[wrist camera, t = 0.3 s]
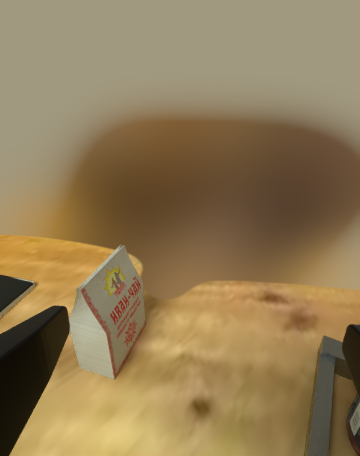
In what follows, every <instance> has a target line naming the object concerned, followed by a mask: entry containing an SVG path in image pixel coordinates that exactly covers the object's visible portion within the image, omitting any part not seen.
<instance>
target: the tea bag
mask: <svg viewBox="0 0 360 456" xmlns="http://www.w3.org/2000/svg"><path fill="white" fill-rule="evenodd" d="M69 323H70V333H71V337H72V340H73V344H74V348H75V352H76V355H77V359H78V363H79V367H80V368H82V369H85V370H88V371H91V372H94V373H97V374H99V375H102V376H105V377H108V378H111V379H114V380H115V378H116V376H117V374H118V372H119V371H120V369H121V367H122V365H123V364H124V362H125V360H126V358H127V356H128V355H129V353H130V351H131V349H132V348H133V346H134V344H135V342H136V340H137V339H138V337H139V335H140V333H141V332H142V330H143V328H144V326H145V324H146V321H145V308H144V296H143V283H142V280H141V279H140V277H139V275H138V273H137V271H136V270H135V268H134V266H133V264H132V262H131V260H130V258H129V256H128V254H127V252H126V249H125V246H122V247H121V245H120V246H119V247H118V248H117V249H116V250H115V251H114V252H113V253H112V254H111V255H110V256H109V257H108V258H107V259H106V260H105V261H104V262H103V263H102V264H101V265H100V266H99V267H98V268H97V269H96V270H95V271H94V272H93V273H92V274H91V275H90V276H89V277H88V278H87V279H86V280H85V281H84V282H83V283H82V284H81V285H80V286H79V287H78V288H77V296H76V300H75V304H74V307H73V310H72V313H71V315H70V318H69Z"/></svg>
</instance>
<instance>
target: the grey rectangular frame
mask: <svg viewBox="0 0 360 456" xmlns="http://www.w3.org/2000/svg"><path fill="white" fill-rule="evenodd" d="M342 343H343V342H340V341H337V340H334V339H332V338H329V337H326V336H323V339H322V342H321V344H320V347H319V351H318V358H317V366H316V373H315V380H314V388H313V395H312V402H311V409H310V417H309V424H308V431H307V439H306V446H305V453H304V456H328V450H329V436H330V423H331V409H332V395H333V381H334V373H336V374H339V375H341V376H344V377H346V378H348V379H351V380H353V379H352V377H351V374H350V371H349V368H348V366H347V363H346V360H345V358H344V355H343V352H342Z"/></svg>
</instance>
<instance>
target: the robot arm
mask: <svg viewBox="0 0 360 456" xmlns="http://www.w3.org/2000/svg"><path fill="white" fill-rule="evenodd" d="M69 331H70V323H69V317H68V311H67V308H66V307H65V306H52V307H50V308H48V309H46V310H44V311H42V312H41V313H39V314H37V315H35V316H33V317H31V318H29V319H28V320H26V321H24V322H22V323H20V324H18V325H16V326H15V327H13V328H11V329H9V330H7V331H5V332H4V333H2V334H0V456H9V455H10V453H11V451H12V449H13V448H14V446H15V444H16V442H17V440H18V438H19V436H20V434H21V433H22V431H23V429H24V427H25V425H26V423H27V421H28V419H29V418H30V416H31V414H32V412H33V410H34V408H35V406H36V404H37V403H38V401H39V399H40V397H41V395H42V393H43V391H44V389H45V388H46V386H47V384H48V382H49V380H50V378H51V375H52V373H53V371H54V369H55V366H56V364H57V361H58V359H59V356H60V354H61V352H62V349H63V347H64V344H65V342H66V339H67V337H68V335H69ZM342 352H343V355H344V358H345V360H346V363H347V366H348V368H349V371H350V374H351V377H352V379H353V382H354V385H355V387H356V390H357V393H358V395H359V398H360V325H354V324H351V325H349V326H348V327H347V329H346V333H345V336H344V340H343V343H342Z"/></svg>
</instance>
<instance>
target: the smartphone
mask: <svg viewBox="0 0 360 456" xmlns="http://www.w3.org/2000/svg"><path fill="white" fill-rule="evenodd" d="M34 287H35V282H33V281H28V280H23V279H18V278H13V277H8V276H3V275H0V318H1V317H2V316H3V315H4V314H6V313H7V312H8V311H9V310H10V309H11V308H12V307H13V306H15V305H16V304H17V303H18V302H19V301H20V300H21V299H22V298H24V297H25V296H26V295H27V294H28V293H29V292H30V291H31V290H33V289H34Z"/></svg>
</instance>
